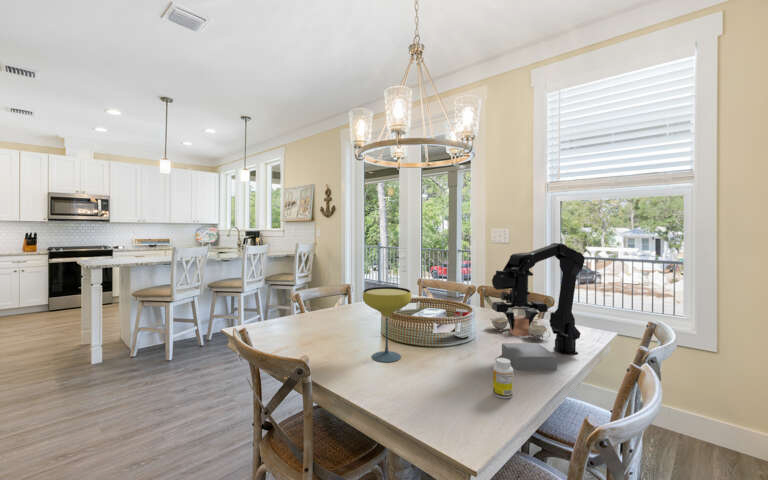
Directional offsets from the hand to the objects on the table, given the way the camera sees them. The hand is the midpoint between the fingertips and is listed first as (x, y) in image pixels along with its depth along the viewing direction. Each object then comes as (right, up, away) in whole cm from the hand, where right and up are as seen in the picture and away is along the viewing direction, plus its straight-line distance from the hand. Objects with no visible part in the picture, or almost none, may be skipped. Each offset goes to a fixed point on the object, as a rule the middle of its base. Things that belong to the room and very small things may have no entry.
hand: (519, 329), depth 129 cm
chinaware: (+14, -10, +33) cm, 37 cm away
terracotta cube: (0, -2, 0) cm, 2 cm away
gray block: (+2, -11, -3) cm, 12 cm away
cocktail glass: (-49, -11, +1) cm, 51 cm away
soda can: (-16, -10, +26) cm, 32 cm away
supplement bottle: (-16, -12, -28) cm, 34 cm away
